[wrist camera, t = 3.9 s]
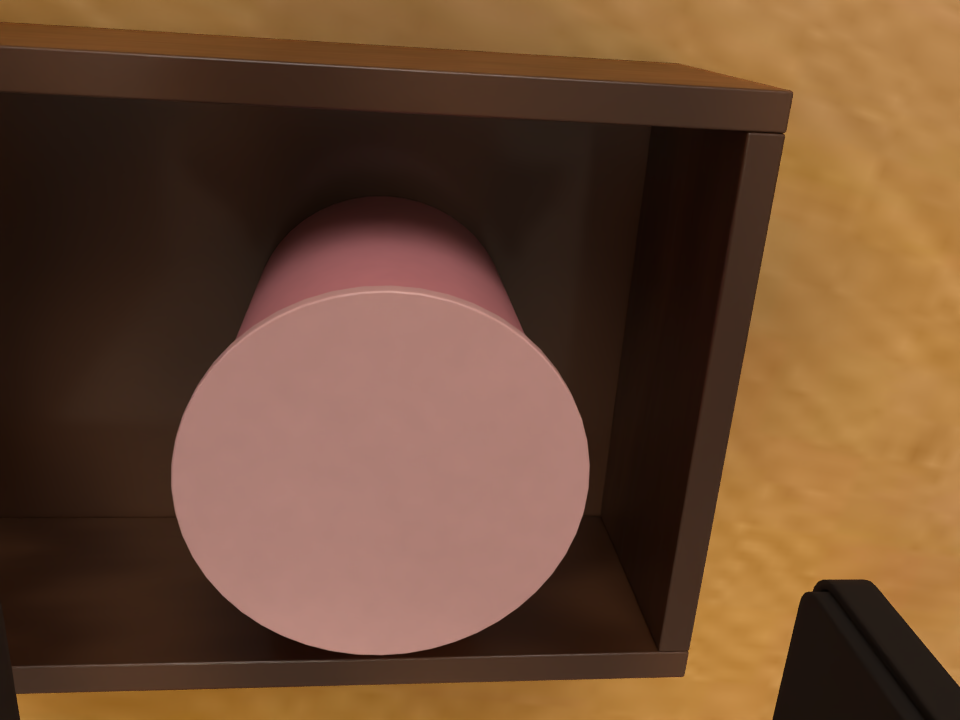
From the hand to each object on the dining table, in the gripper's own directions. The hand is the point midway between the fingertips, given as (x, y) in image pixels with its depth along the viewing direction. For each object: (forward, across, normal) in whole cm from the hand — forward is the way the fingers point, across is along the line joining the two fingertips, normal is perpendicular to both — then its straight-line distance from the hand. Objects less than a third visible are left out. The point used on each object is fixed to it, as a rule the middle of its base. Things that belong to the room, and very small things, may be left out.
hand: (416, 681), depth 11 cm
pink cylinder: (+12, 0, 0) cm, 12 cm away
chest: (+13, +2, 0) cm, 13 cm away
